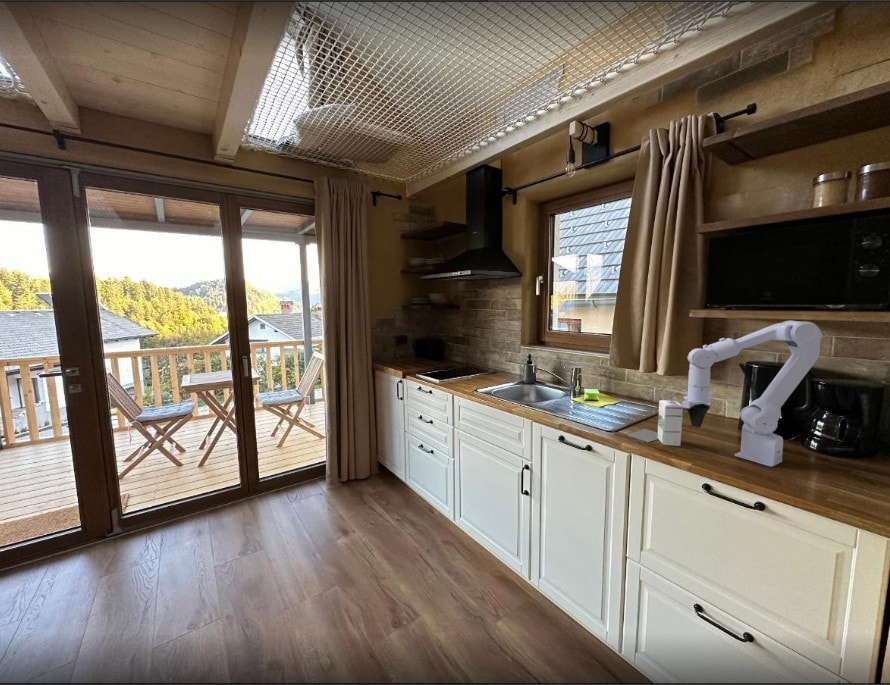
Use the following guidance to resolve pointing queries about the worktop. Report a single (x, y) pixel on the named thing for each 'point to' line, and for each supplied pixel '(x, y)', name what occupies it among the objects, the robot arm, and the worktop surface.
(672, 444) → the syrup box
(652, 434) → the mat
